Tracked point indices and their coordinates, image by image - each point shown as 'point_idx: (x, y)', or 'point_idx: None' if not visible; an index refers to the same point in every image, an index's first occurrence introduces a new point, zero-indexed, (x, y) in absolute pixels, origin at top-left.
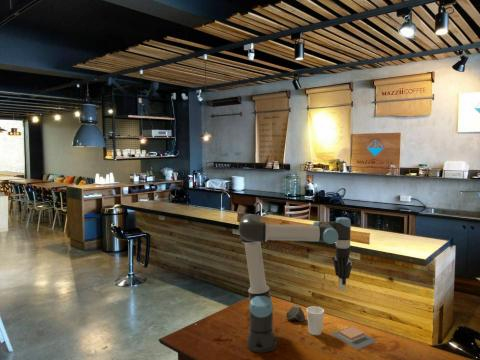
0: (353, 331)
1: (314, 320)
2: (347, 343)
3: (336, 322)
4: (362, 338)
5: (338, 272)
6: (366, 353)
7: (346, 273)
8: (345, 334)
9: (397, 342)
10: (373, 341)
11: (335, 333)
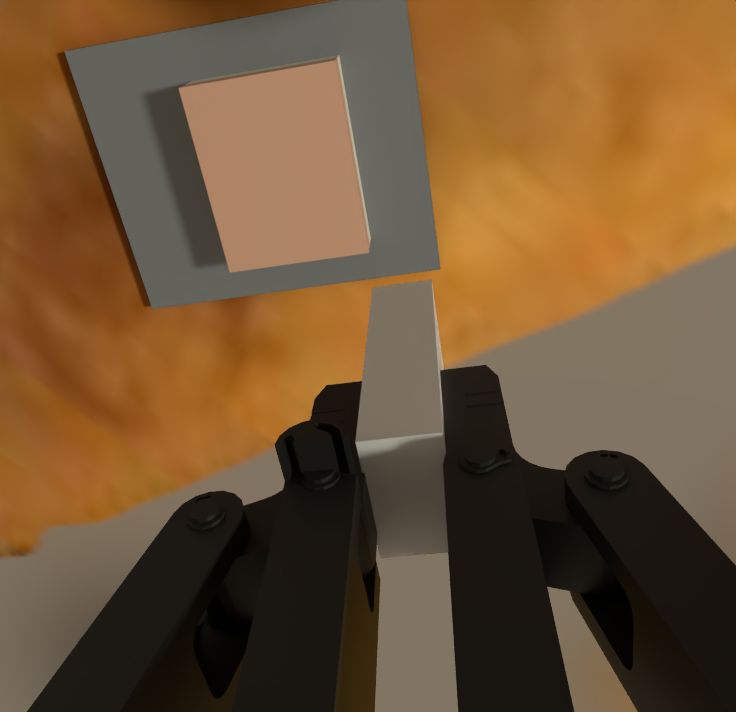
0: (282, 197)
1: None
2: (184, 34)
3: (588, 217)
4: None
5: (518, 556)
6: (11, 98)
7: (92, 656)
8: (257, 80)
9: (113, 422)
10: (152, 275)
11: (395, 49)
